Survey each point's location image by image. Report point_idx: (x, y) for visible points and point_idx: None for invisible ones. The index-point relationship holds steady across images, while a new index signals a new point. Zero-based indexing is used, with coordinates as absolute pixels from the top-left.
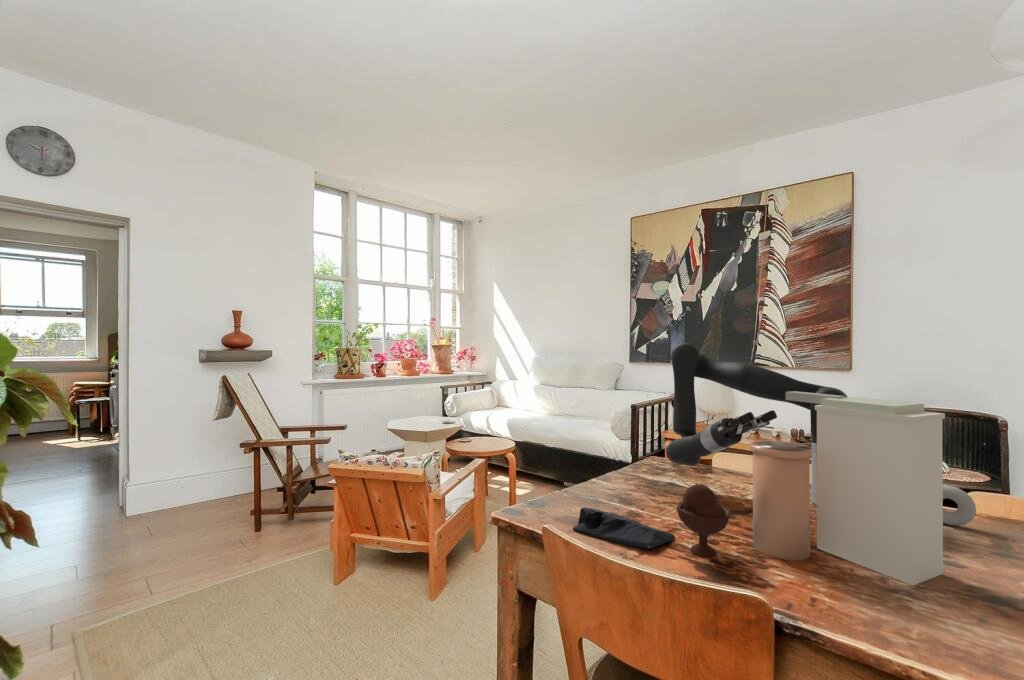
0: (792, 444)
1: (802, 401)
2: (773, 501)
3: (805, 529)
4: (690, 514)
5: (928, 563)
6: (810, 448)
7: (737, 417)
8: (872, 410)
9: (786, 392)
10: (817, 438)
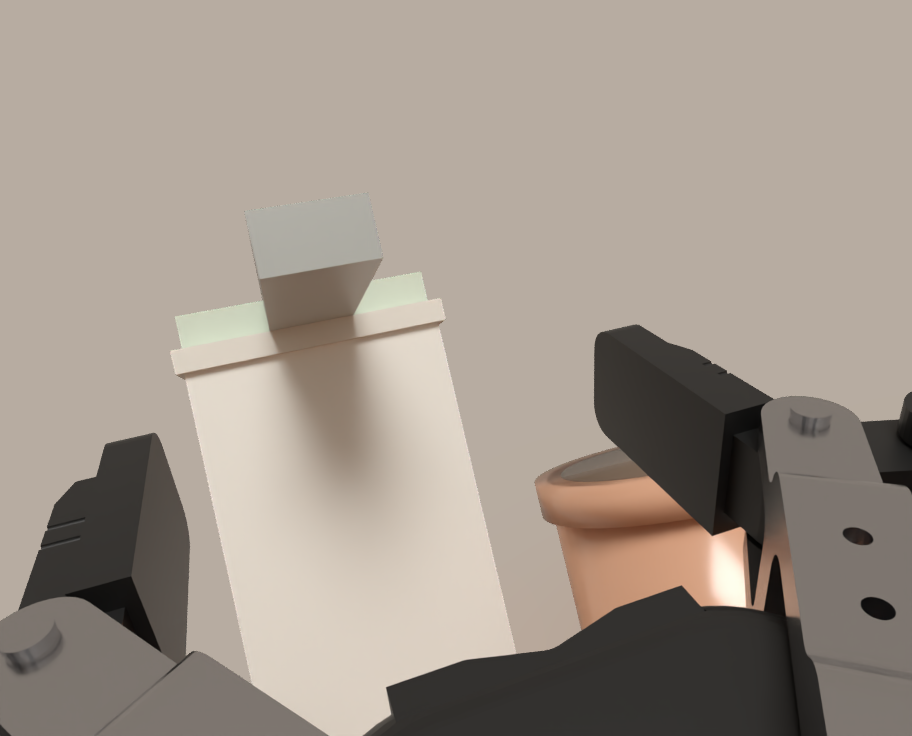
0: (590, 472)
1: (367, 286)
2: None
3: None
4: None
5: None
6: (555, 468)
7: (803, 405)
8: None
9: (369, 200)
10: (469, 459)
